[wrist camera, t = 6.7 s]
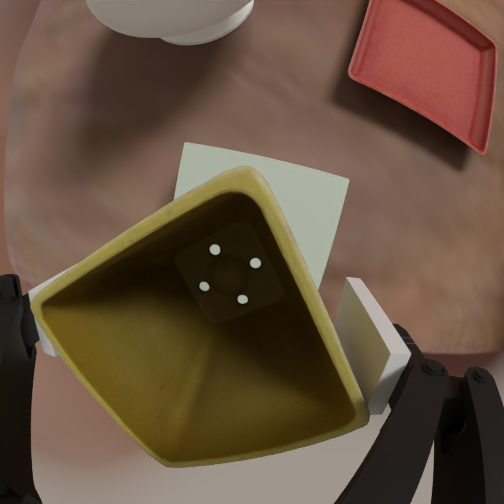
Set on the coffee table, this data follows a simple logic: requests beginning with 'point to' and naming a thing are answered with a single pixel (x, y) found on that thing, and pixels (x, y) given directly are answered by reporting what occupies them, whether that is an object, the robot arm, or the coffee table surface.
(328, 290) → the coffee table surface
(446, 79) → the plant saucer
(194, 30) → the decorative vase
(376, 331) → the robot arm
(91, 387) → the flower pot
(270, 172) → the sage block
